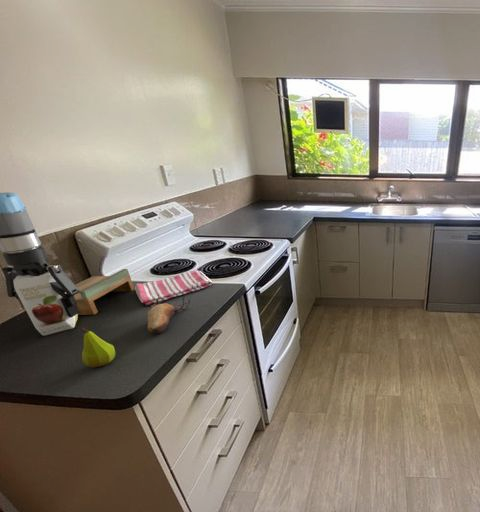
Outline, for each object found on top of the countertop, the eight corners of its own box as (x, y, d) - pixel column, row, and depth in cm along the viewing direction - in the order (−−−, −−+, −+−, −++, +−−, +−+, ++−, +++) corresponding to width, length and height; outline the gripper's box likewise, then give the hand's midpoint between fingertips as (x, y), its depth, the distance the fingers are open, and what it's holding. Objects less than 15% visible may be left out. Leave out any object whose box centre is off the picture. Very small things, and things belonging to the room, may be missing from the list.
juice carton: (44, 326, 91) (16, 272, 84) (82, 317, 96) (58, 265, 89) (37, 338, 85) (7, 281, 78) (78, 328, 90) (52, 273, 83)
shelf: (51, 315, 97) (39, 292, 93) (98, 290, 113) (89, 269, 110) (94, 314, 97) (84, 291, 94) (134, 289, 114) (127, 268, 111)
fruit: (124, 354, 79) (109, 318, 75) (107, 371, 73) (89, 332, 69) (99, 356, 78) (82, 319, 74) (79, 373, 73) (60, 334, 68)
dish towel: (135, 291, 112) (132, 284, 111) (201, 273, 128) (199, 266, 127) (143, 308, 101) (140, 299, 100) (215, 285, 117) (213, 278, 116)
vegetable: (189, 323, 88) (162, 301, 83) (155, 346, 86) (126, 324, 81) (196, 301, 101) (174, 281, 97) (167, 321, 99) (143, 301, 95)
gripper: (78, 244, 85) (104, 308, 93) (-5, 244, 84) (29, 309, 92) (51, 253, 78) (82, 321, 86) (-39, 254, 77) (1, 323, 85)
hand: (55, 315), depth 89 cm, fingers open, 11 cm apart
